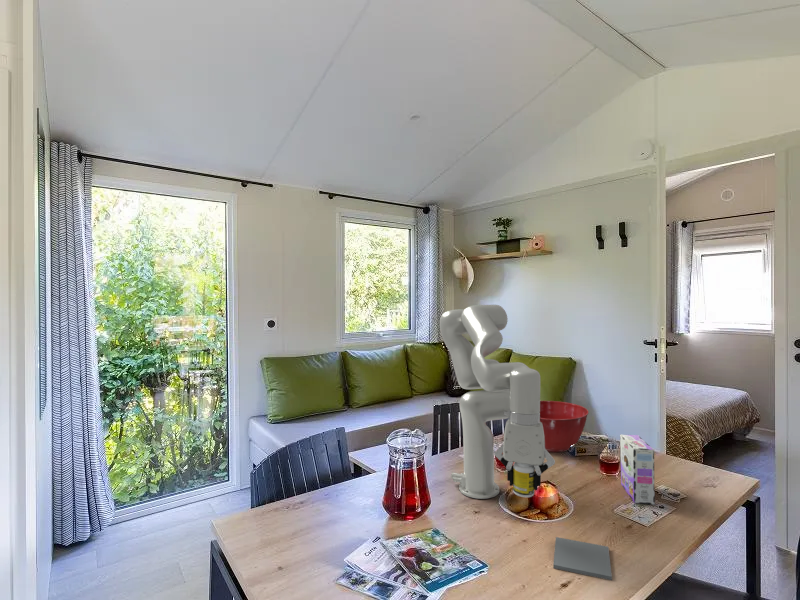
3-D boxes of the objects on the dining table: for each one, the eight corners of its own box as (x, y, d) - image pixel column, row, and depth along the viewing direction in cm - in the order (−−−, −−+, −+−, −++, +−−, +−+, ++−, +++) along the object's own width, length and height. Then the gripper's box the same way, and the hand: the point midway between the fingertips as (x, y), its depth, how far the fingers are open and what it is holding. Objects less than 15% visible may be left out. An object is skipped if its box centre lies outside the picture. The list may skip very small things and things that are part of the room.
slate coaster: (553, 568, 99) (553, 564, 99) (555, 540, 110) (555, 536, 110) (611, 580, 94) (611, 576, 94) (608, 549, 105) (608, 546, 105)
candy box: (655, 505, 127) (655, 449, 126) (633, 504, 128) (633, 448, 128) (639, 485, 140) (639, 434, 140) (619, 483, 141) (619, 433, 141)
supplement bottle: (531, 500, 109) (531, 462, 108) (510, 494, 112) (510, 457, 111) (537, 491, 113) (537, 454, 113) (516, 485, 116) (516, 450, 116)
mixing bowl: (518, 458, 165) (518, 417, 165) (512, 433, 193) (511, 399, 193) (597, 461, 160) (597, 419, 160) (579, 436, 188) (578, 400, 188)
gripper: (488, 417, 111) (487, 486, 112) (559, 426, 105) (558, 499, 106) (493, 409, 118) (493, 474, 119) (560, 416, 112) (559, 485, 113)
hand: (523, 485), depth 113 cm, fingers closed on supplement bottle, 5 cm apart
